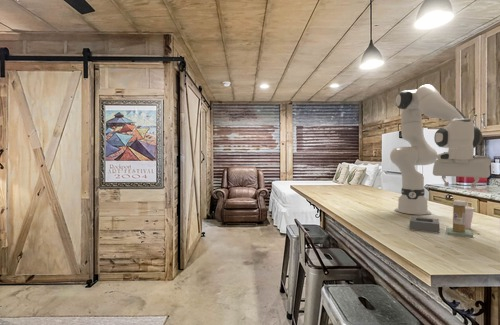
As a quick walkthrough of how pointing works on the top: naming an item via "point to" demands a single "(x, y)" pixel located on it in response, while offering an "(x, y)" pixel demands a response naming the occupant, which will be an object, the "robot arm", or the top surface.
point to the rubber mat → (465, 234)
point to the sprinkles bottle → (459, 215)
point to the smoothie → (468, 216)
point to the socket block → (424, 224)
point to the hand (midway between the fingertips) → (459, 186)
